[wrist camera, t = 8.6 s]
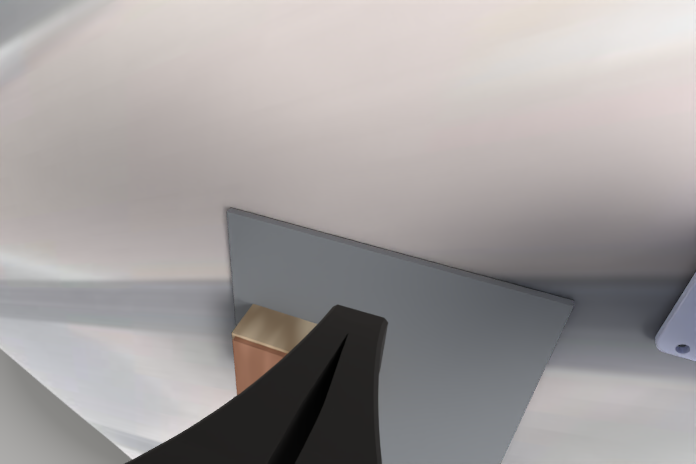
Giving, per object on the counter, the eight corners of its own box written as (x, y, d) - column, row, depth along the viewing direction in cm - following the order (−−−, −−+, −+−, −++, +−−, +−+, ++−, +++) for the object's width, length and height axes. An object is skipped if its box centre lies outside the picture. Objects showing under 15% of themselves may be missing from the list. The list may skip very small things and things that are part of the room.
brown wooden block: (352, 378, 25) (228, 336, 27) (344, 445, 29) (235, 404, 30) (369, 340, 27) (253, 303, 29) (359, 407, 31) (256, 371, 32)
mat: (573, 300, 22) (574, 306, 22) (480, 502, 33) (479, 508, 32) (230, 207, 26) (226, 211, 26) (245, 415, 37) (243, 419, 36)
